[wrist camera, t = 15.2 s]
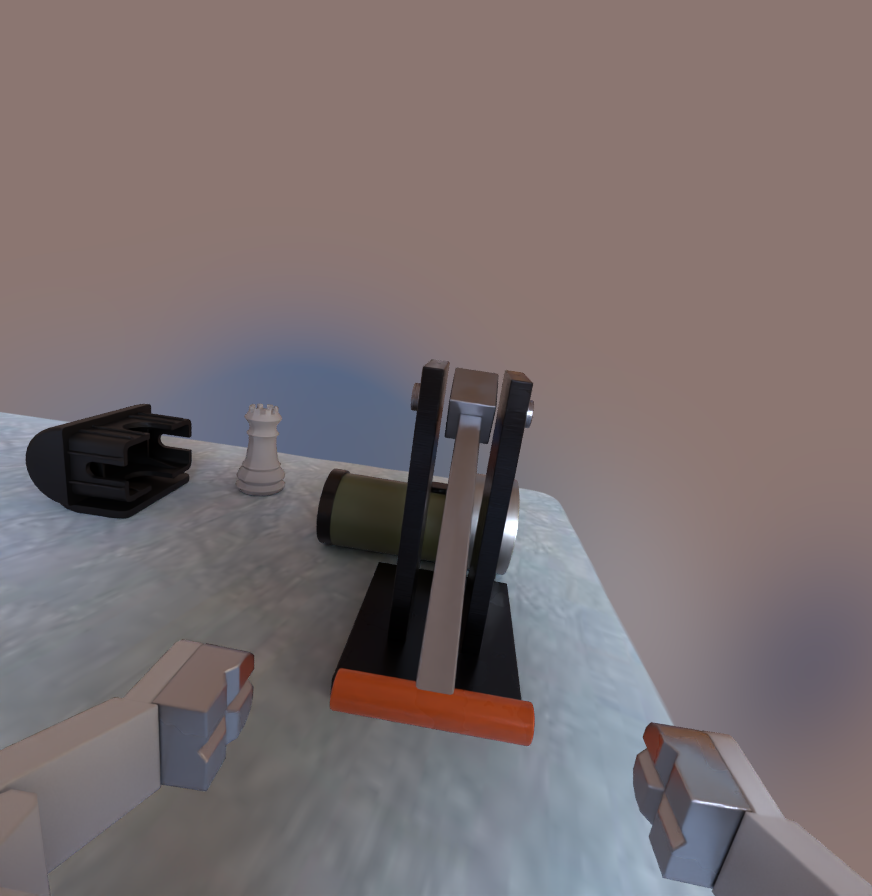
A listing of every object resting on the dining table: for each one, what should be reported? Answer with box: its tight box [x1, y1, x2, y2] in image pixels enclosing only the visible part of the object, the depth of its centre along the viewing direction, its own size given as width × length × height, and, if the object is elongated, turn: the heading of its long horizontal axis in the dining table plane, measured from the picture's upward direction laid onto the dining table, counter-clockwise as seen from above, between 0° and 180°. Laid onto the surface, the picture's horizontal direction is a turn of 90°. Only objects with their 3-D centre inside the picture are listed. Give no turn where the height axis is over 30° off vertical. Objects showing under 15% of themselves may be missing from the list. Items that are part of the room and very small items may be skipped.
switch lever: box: [330, 368, 535, 746], centre depth 18 cm, size 16×6×2 cm
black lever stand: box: [330, 359, 534, 700], centre depth 25 cm, size 11×9×16 cm
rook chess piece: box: [236, 404, 285, 496], centre depth 43 cm, size 4×4×8 cm
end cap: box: [26, 404, 192, 518], centre depth 38 cm, size 10×7×7 cm
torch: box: [317, 469, 519, 575], centre depth 35 cm, size 14×7×7 cm, turn 86°
